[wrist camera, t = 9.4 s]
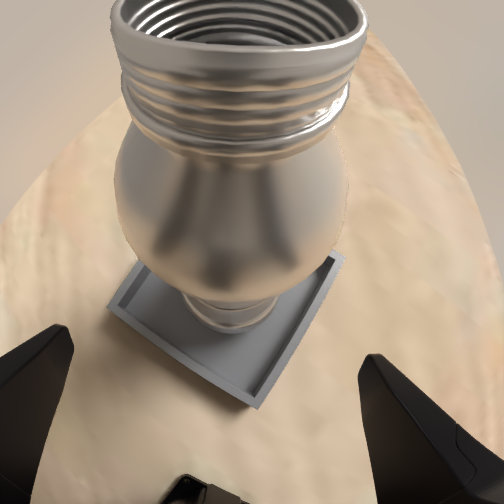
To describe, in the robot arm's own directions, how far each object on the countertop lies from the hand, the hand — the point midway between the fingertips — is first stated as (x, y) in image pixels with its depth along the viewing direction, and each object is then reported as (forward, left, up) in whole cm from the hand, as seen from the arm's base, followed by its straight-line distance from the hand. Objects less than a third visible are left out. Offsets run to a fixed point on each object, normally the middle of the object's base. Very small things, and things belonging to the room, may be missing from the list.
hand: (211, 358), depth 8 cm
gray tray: (+4, +2, -14) cm, 14 cm away
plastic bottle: (+4, +2, -13) cm, 14 cm away
